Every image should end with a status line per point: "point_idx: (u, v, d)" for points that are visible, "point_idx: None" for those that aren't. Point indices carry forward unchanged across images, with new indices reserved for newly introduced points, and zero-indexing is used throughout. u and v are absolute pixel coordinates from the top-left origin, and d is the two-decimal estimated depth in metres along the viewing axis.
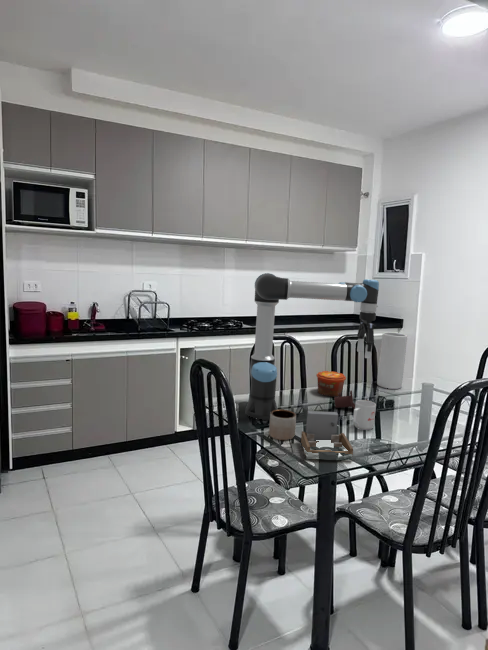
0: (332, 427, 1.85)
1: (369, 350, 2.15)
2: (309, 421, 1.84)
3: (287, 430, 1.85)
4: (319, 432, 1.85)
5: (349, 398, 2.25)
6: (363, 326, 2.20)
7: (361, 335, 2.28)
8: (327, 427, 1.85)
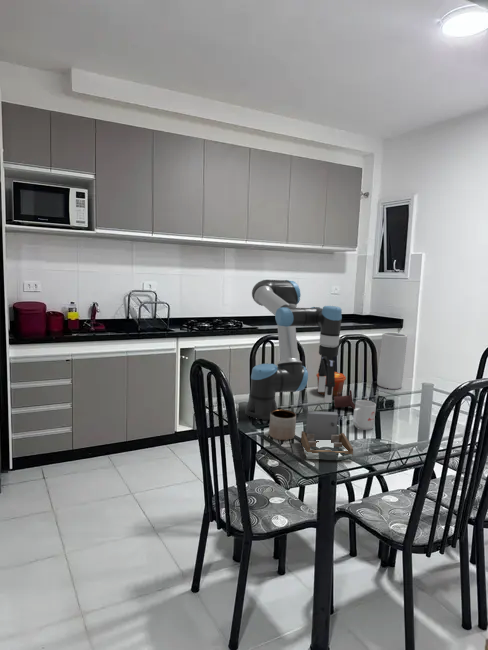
0: (332, 427, 1.85)
1: (329, 393, 1.76)
2: (309, 421, 1.84)
3: (287, 430, 1.85)
4: (319, 432, 1.85)
5: (348, 398, 2.26)
6: (323, 363, 1.81)
7: (322, 372, 1.89)
8: (327, 427, 1.85)
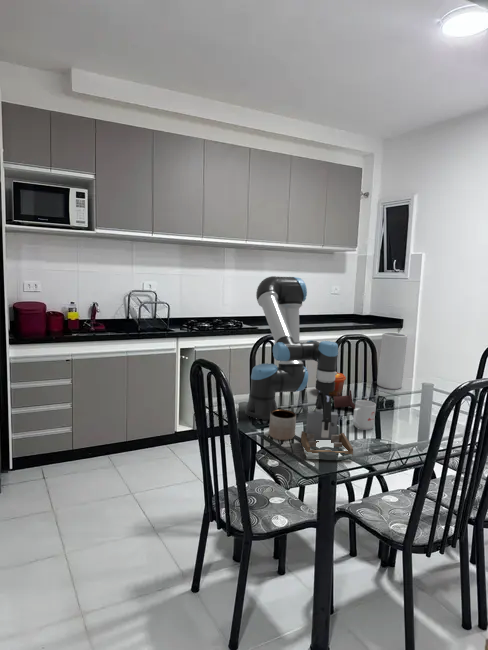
0: (332, 427, 1.85)
1: (326, 429, 1.78)
2: (309, 421, 1.84)
3: (287, 430, 1.85)
4: (319, 432, 1.85)
5: (348, 398, 2.26)
6: (320, 398, 1.83)
7: (319, 405, 1.91)
8: None
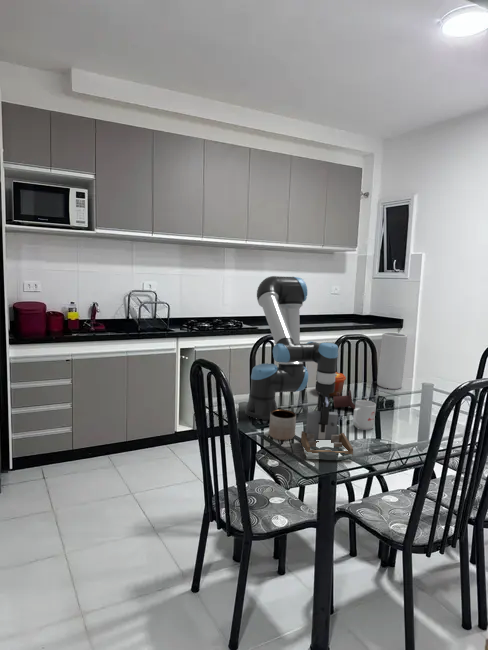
0: (332, 427, 1.85)
1: (323, 431, 1.83)
2: (309, 421, 1.84)
3: (287, 430, 1.85)
4: None
5: (348, 398, 2.26)
6: (319, 399, 1.83)
7: None
8: (327, 427, 1.85)
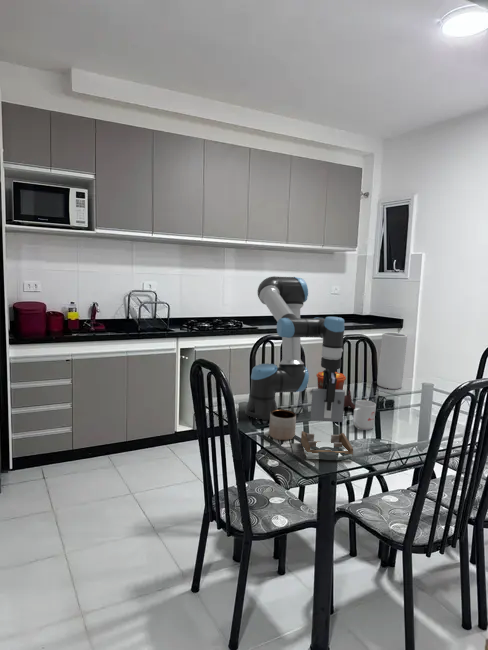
0: (339, 405, 1.77)
1: (329, 409, 1.75)
2: (314, 399, 1.76)
3: (287, 430, 1.85)
4: None
5: (348, 398, 2.26)
6: (325, 375, 1.75)
7: None
8: (334, 405, 1.77)
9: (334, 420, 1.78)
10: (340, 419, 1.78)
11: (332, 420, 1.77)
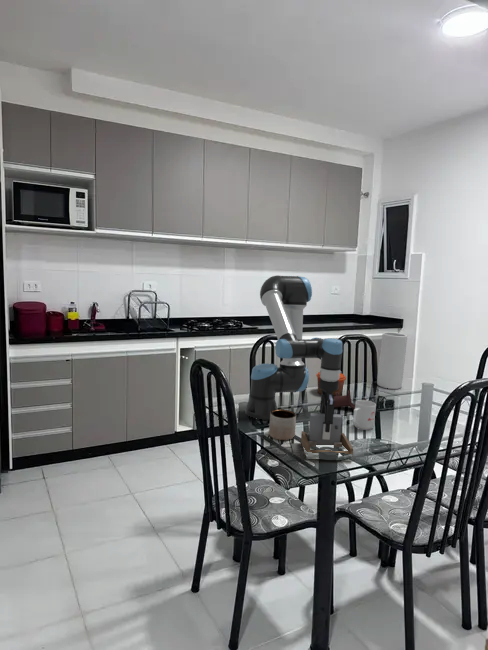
0: (336, 430, 1.78)
1: (327, 430, 1.75)
2: (312, 424, 1.78)
3: (287, 430, 1.85)
4: None
5: (347, 397, 2.26)
6: (323, 397, 1.76)
7: (324, 411, 1.82)
8: (331, 430, 1.78)
9: (331, 444, 1.79)
10: None
11: (329, 444, 1.79)
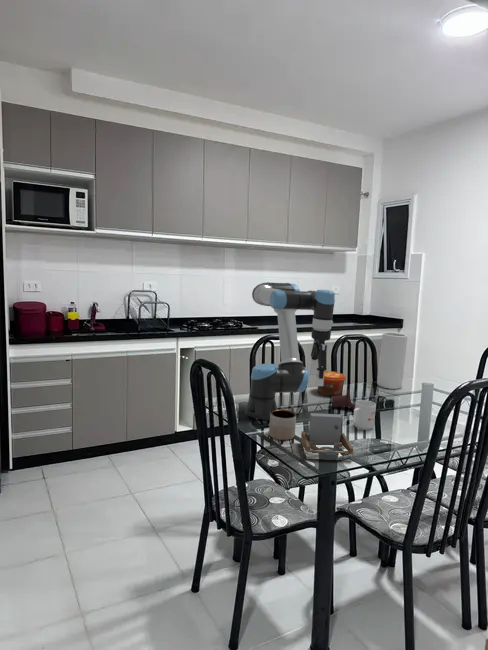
0: (336, 430, 1.79)
1: (321, 377, 1.77)
2: (312, 424, 1.78)
3: (287, 430, 1.85)
4: (323, 435, 1.79)
5: (347, 397, 2.26)
6: (315, 347, 1.81)
7: (315, 356, 1.90)
8: (331, 430, 1.79)
9: (331, 444, 1.79)
10: None
11: (329, 444, 1.79)
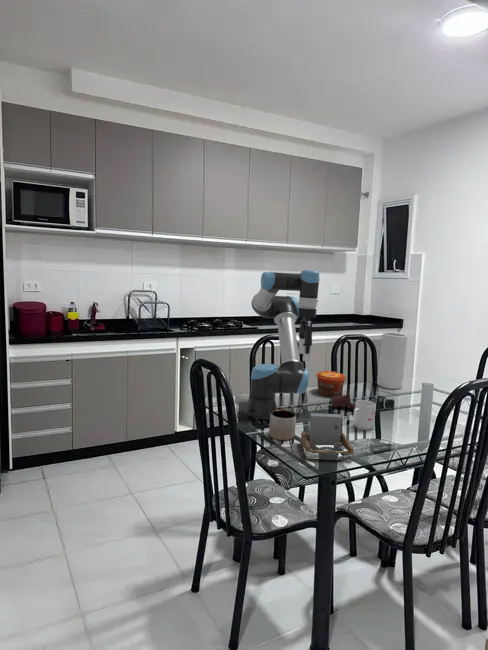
0: (336, 430, 1.79)
1: (307, 352, 1.85)
2: (312, 424, 1.78)
3: (287, 430, 1.85)
4: (323, 435, 1.79)
5: (346, 397, 2.26)
6: (302, 324, 1.90)
7: (302, 334, 1.99)
8: (331, 430, 1.79)
9: (331, 444, 1.79)
10: None
11: (329, 444, 1.79)
